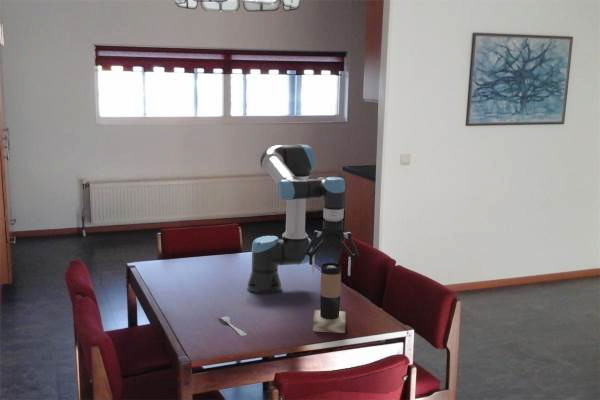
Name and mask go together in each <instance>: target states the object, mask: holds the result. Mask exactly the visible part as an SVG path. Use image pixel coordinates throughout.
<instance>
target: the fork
mask: <svg viewBox="0 0 600 400" xmlns="http://www.w3.org/2000/svg"><path fill="white" fill-rule="evenodd" d="M218 319H220V317H218ZM221 319H222V320H223V321H224V322H225V323H227V325H229V326H230V327H231V328H233V330H235V332H237V333H238V335H239V336H241V337H242V336H247V333H246V332H245V331H243V330H241V329H239V328H238V327H236V326H234V325H233V323H231V318H230V317H229V316H222V317H221Z"/></svg>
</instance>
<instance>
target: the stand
mask: <svg viewBox="0 0 600 400" xmlns="http://www.w3.org/2000/svg"><path fill="white" fill-rule="evenodd" d="M346 321H347V320H346V311H344V310H343V311H342V310H339V317H338V318H336V319H324V318H322V317H321V316H320V309H314V313H313V321H312V322H313V323H312V324H313V326H312V332H320V333H321V332H323V333H338V334H339V333H340V334H341V333H342V334H346Z"/></svg>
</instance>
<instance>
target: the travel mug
mask: <svg viewBox="0 0 600 400" xmlns="http://www.w3.org/2000/svg"><path fill="white" fill-rule="evenodd" d="M320 272H321V273H320V274H321V275H320V290H319V293H320V294H319V296H320V297H319V300H320V301H319V303H320V304H319V307H320V308H319V310H320V316H321V317H322V318H324V319H336V318H338V317H339V311H340V310H341V309H340V308H341V293H342V292H341V291H342V289H341V286H342V285H341V284H342V265H341V264H339V263H335V262H326V263H322V264H321V271H320Z"/></svg>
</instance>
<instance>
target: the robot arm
mask: <svg viewBox="0 0 600 400" xmlns="http://www.w3.org/2000/svg"><path fill="white" fill-rule="evenodd" d="M259 162H260V163H259V164H260V167H261V169H262V170H263V172H264V173H266V174H267V175H270V177H271V178H272V179H273V181H274V182H275V183H276V185H277V186H276V189H277V190H276V191H277V192H276V193H277V197H278V198H279V199H280V200H286V211H285V212H286V213H285V214H286V215H285V231H284V232H283V233H282V234H281V235H282V236H281V237H282V238H281V239H279V237H278V236H275V235H262V236H259V237H257V238H255V239H254V240H253V242H252V244H251V245H252V246H251V273H250V275H249V277H248V278H249V279H248V281H247V290H248V291H249V292H251V293H256V294H264V295H265V294H267V295H268V294H274V293H278V292H280V291H281V290H282V282H281V278H280V274H279V271H278V270H279V266H290V265H291V266H292V265H298V266H299V265H304V264H307V263H308V264H309V265H311V274H312V275H314V274H315V260H316V257H315V256H316V255H315V254H316V253H317V252H318V251H319V250H320V249H321V248H322V247H323V246H324V245H325V244H326V243H327V244H328V245H331V244H333V245H337V244H339V245H340V247H342V249H343V250H344V251H345V252H346V254H347V255H348V264H347V265H348V266H347V276H349V277H350V276H351V268H352V267H353V268H354V265H355V264H354V263H355V259H356V258H359V257H360V253H359V251H358V248H357V247H356V245H355V242H354V240H353V238H352V233H351V231H347V232H344V220H343V219H344V212H345V211H344V210H345V193H346V183H345V182H346V181H345V179H344V178H343V177H338V176H328V177H323V176H321V177H317V178H309V177H311V172H313V171H315V167H316V157H315V154H314V150H313V148H312V147H311V146H310V145H309V144H301V143H300V144H275V145H271V146H269V147H268V148H266V149H265V150H264V151H263V153H262V154H261V156H260V160H259ZM314 199H315V200H316V199H323V211H322V212H323V214H322V217H323V220H322V231H319V230H314V232H313V233H314V234H313V237H312V239H311V238H309V234H307V232H306V209H307V207H306V206H307V205H306V203H307V201H306V200H314ZM320 236H321V238H322V239H321V241H320V242H319V243H318V244H317V245H316V246H315V247H314V248H313V246H314V244H315V242H316V241H317V238H319V237H320ZM344 237H345V238H346V239H347V240H348V243H349V245H350V247H351V249H352V251H353V252H352V251H351V250H350V249H349V247H348V246H347V244H345V242H344V240H343V238H344Z"/></svg>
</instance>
